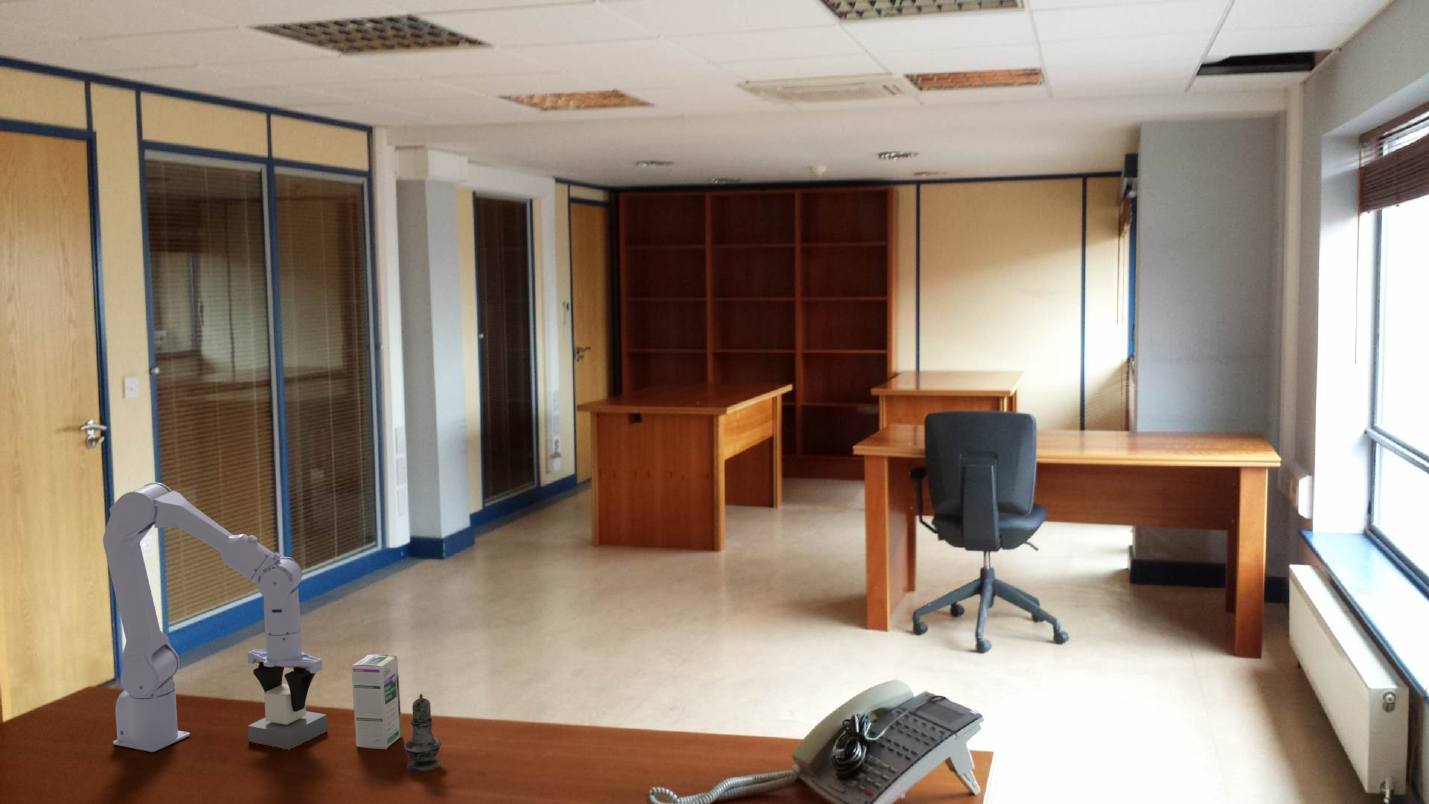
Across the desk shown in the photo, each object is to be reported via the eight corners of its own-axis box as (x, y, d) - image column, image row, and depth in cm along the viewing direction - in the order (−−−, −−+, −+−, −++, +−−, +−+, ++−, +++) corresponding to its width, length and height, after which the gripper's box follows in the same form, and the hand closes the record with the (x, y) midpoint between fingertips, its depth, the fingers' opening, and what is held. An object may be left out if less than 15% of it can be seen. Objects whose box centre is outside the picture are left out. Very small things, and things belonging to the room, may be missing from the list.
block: (248, 742, 201) (247, 725, 201) (286, 724, 210) (286, 707, 209) (290, 750, 198) (289, 733, 198) (327, 731, 206) (326, 714, 206)
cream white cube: (265, 720, 202) (264, 692, 201) (285, 711, 206) (283, 683, 205) (286, 724, 200) (285, 696, 199) (306, 715, 204) (304, 687, 204)
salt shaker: (449, 760, 193) (446, 689, 192) (429, 774, 188) (426, 701, 187) (418, 755, 195) (415, 685, 194) (397, 770, 190) (394, 697, 188)
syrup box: (386, 749, 198) (383, 665, 196) (354, 747, 199) (350, 663, 197) (402, 736, 203) (399, 654, 202) (370, 734, 205) (367, 653, 203)
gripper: (232, 632, 201) (237, 709, 202) (299, 642, 195) (303, 721, 197) (263, 621, 207) (267, 696, 209) (329, 630, 202) (332, 707, 203)
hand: (286, 707), depth 203 cm, fingers closed on cream white cube, 5 cm apart
